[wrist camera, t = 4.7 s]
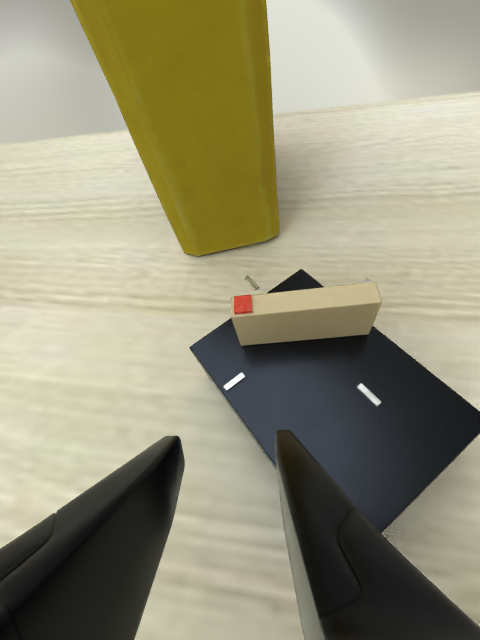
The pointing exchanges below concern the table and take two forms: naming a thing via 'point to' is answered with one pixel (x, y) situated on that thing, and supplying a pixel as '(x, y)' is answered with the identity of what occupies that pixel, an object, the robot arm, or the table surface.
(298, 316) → the tan slab
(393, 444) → the panel
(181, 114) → the yellow tapered bin
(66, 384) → the table surface
